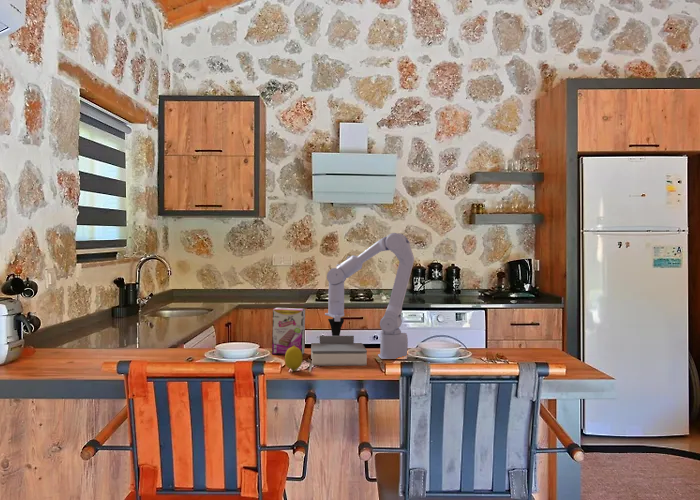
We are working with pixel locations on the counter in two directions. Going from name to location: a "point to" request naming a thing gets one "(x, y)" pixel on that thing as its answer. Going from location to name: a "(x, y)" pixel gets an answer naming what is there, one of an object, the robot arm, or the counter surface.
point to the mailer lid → (337, 345)
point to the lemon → (293, 358)
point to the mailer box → (339, 359)
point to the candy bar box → (288, 329)
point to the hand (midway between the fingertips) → (335, 338)
